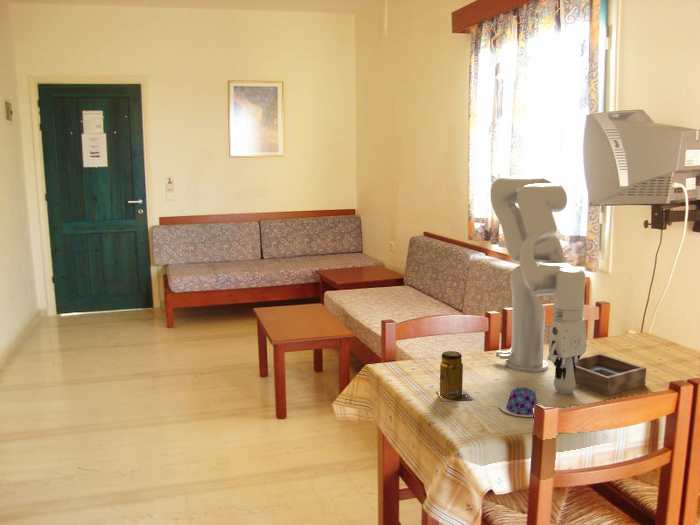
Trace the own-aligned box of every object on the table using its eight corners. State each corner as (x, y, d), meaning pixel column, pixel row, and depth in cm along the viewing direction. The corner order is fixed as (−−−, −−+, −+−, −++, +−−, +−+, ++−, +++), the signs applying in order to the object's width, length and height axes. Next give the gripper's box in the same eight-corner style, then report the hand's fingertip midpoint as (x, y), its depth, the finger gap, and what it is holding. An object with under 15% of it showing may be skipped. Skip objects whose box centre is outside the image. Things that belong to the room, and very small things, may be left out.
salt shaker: (576, 396, 180) (579, 350, 178) (554, 395, 181) (556, 348, 179) (573, 388, 186) (576, 343, 184) (552, 387, 187) (554, 342, 185)
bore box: (607, 395, 181) (608, 378, 180) (561, 378, 194) (561, 361, 193) (645, 384, 189) (646, 367, 188) (598, 369, 202) (599, 353, 201)
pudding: (492, 414, 170) (493, 394, 169) (506, 398, 180) (506, 379, 179) (540, 423, 164) (541, 402, 163) (551, 406, 174) (552, 387, 174)
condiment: (435, 391, 184) (436, 350, 182) (465, 390, 185) (466, 348, 183) (442, 401, 177) (442, 358, 175) (473, 400, 178) (474, 357, 176)
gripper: (557, 321, 173) (554, 389, 176) (600, 313, 181) (596, 378, 184) (536, 315, 179) (533, 381, 182) (578, 307, 187) (574, 370, 190)
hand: (565, 378), depth 183 cm, fingers closed on salt shaker, 3 cm apart
